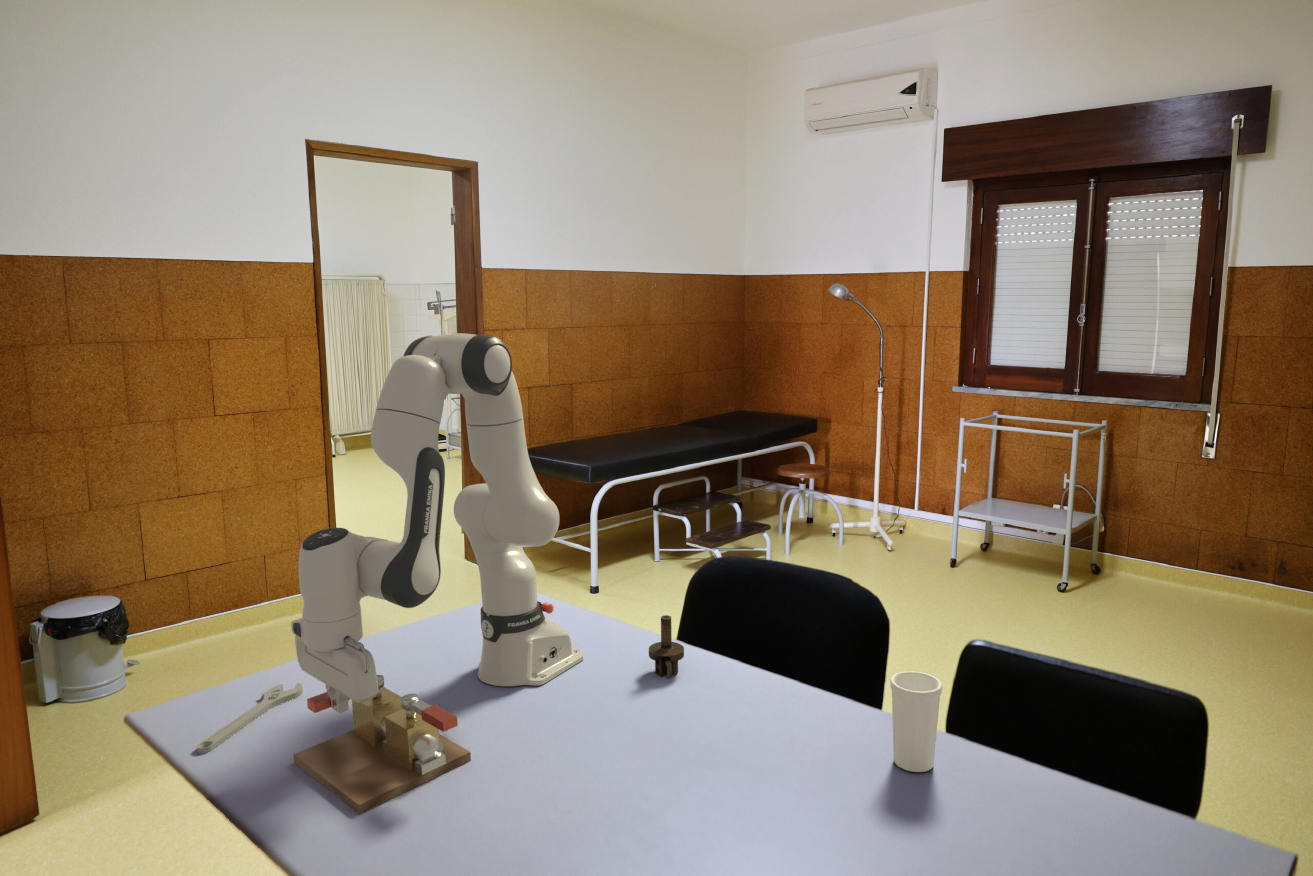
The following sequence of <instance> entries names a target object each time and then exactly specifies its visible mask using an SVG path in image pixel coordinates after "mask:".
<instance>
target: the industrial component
mask: <svg viewBox="0 0 1313 876" xmlns="http://www.w3.org/2000/svg"><path fill="white" fill-rule="evenodd" d="M672 637H673V636H672V616H671V615H668V614H665V615H661V616H660V641H658V642H655V643H652V644H651V645H650V646H648V658H649V659H651V660H653V661H654V672H655V674H656V675H657V676H659V677H663V676H667V679H670V678H671V679H672V678H673V677H674V676H676V675H678V674H679V661H681V660H682V659H683V658H684V657H685V647H684V645H683V644H681V643H679V642H675V641H672V640H673V639H672Z"/></svg>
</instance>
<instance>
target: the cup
mask: <svg viewBox="0 0 1313 876" xmlns="http://www.w3.org/2000/svg"><path fill="white" fill-rule="evenodd" d="M889 682H890V688H891V705H892V709H891V710H892V745H893V747H892V749H893V750H892V751H893V752H892V753H893V761H894V764H895V765H896V766H897V767H899V768H901V769H903V770H904V771H908V772H915V773H924V772H928V771H930V770H931V769H932V768H933V767H934V764H935V755H936V745H937V744H936V743H937V735H938V733H937V731H938V725H939V724H938V721H939V711H940V710H939V709H940V701H941V695H942V693H943V688H944V687H943V684H942V681H941V680H939V678H937V677H936V676H934V675H932V674H929V673H926V672H920V671H910V670H909V671H908V670H907V671H900V672H897V673H895V674H892V676H891V678H890V679H889Z"/></svg>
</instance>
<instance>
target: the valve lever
mask: <svg viewBox="0 0 1313 876" xmlns="http://www.w3.org/2000/svg"><path fill="white" fill-rule="evenodd" d="M377 681H378V689H380V688H382V687H384V686H385V676H384V675H382V674H377ZM350 700H351V699H349V700H348V702H349V701H350ZM306 706H307V709H308V710H309V711H311V712H313V713H314V714H316V713H320V712H322V711H324V710H325V711H326V710H327V709H330V708H332V707H331V699H330V697H329V695H328V692H327V691H326V692H323V693H320V694H317V695H315V696H312V697H309V698H307V699H306Z"/></svg>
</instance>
